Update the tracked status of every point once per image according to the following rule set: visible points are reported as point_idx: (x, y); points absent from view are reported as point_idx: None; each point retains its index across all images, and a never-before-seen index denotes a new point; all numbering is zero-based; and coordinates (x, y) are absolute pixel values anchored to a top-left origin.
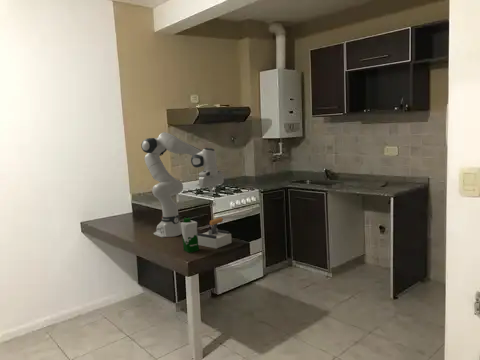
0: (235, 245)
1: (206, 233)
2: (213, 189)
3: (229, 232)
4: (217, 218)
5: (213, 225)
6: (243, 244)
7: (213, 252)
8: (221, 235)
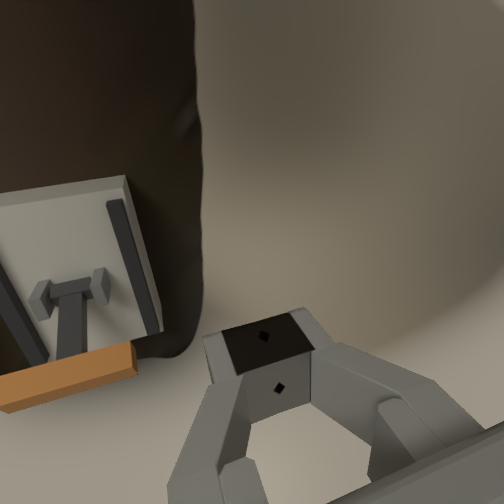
0: (146, 343)
1: (50, 227)
2: (312, 387)
3: (159, 329)
4: (87, 381)
5: (57, 341)
6: (178, 351)
7: (6, 368)
8: (103, 328)
